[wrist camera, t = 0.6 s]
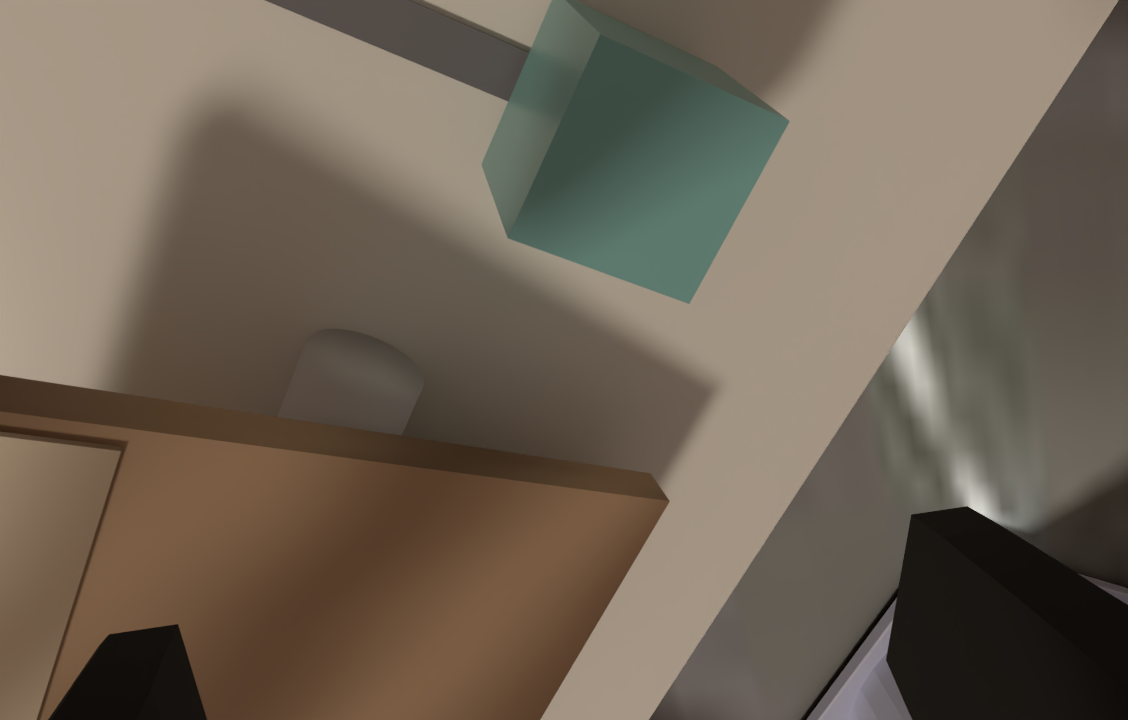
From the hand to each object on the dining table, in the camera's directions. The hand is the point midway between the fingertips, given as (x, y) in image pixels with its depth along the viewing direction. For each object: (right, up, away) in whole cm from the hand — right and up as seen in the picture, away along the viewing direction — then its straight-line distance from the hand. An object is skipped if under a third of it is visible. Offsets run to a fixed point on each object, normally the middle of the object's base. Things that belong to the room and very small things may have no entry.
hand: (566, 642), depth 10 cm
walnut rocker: (-5, -2, +7) cm, 9 cm away
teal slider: (0, +7, +6) cm, 9 cm away
